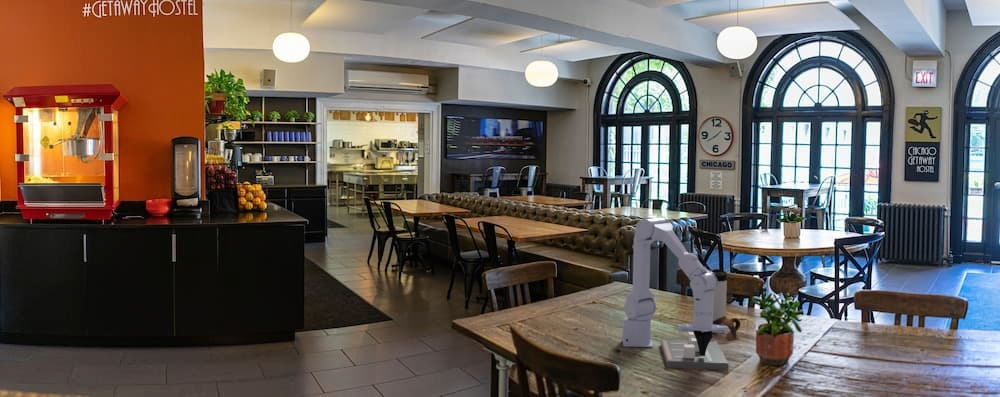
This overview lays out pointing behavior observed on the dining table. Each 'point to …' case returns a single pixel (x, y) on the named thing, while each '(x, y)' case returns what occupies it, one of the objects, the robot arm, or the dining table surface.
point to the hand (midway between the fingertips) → (702, 355)
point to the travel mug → (719, 294)
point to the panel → (676, 358)
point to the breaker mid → (695, 344)
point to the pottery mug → (729, 325)
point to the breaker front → (689, 351)
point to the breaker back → (690, 335)
